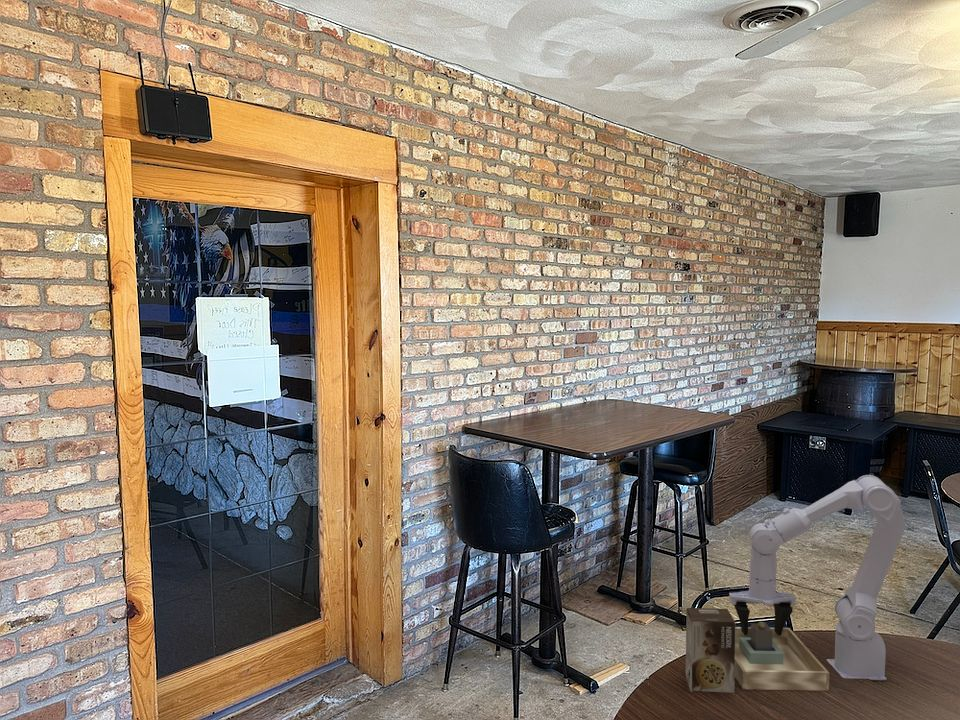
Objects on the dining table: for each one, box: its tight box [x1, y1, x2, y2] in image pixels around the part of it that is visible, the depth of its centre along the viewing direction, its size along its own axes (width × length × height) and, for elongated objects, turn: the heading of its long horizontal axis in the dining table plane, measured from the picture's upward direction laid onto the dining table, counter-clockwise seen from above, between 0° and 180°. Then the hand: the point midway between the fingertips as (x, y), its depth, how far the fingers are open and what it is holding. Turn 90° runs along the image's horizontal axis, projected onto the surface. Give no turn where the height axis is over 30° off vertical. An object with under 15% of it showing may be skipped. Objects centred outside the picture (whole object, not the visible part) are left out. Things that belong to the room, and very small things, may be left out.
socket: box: [739, 637, 784, 664], centre depth 156 cm, size 7×7×2 cm
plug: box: [750, 621, 773, 651], centre depth 155 cm, size 4×4×8 cm
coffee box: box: [685, 607, 736, 694], centre depth 144 cm, size 9×6×16 cm
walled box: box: [735, 626, 830, 692], centre depth 152 cm, size 18×20×4 cm
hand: (761, 633), depth 155 cm, fingers open, 7 cm apart
